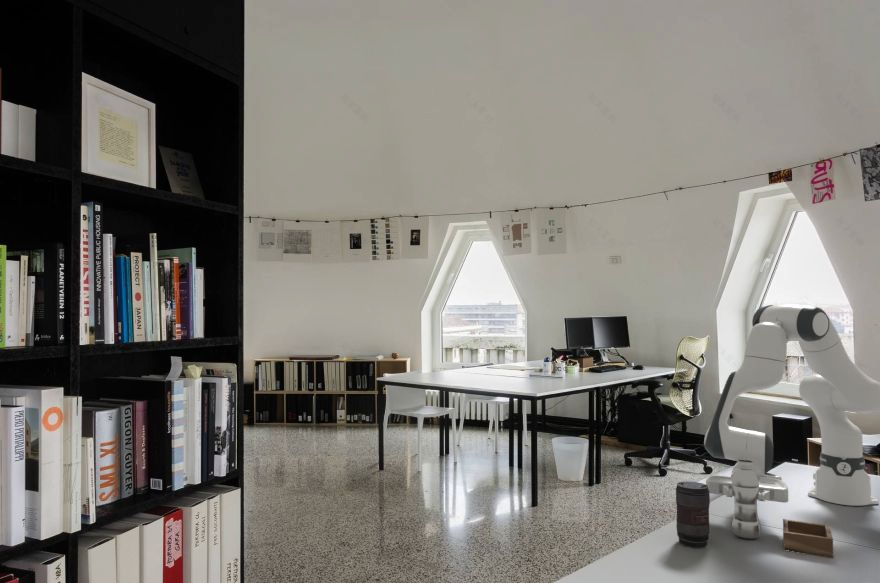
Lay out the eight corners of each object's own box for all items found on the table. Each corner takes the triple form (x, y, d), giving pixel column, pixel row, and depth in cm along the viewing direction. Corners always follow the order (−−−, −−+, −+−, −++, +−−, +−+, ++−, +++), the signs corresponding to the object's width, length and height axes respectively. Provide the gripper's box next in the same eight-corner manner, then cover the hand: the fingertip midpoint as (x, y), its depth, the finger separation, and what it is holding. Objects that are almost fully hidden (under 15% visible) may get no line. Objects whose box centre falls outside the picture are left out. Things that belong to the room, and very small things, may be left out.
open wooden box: (783, 535, 171) (783, 518, 171) (829, 542, 166) (829, 525, 166) (784, 550, 161) (783, 532, 161) (833, 558, 156) (832, 539, 156)
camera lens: (710, 540, 168) (710, 482, 168) (709, 551, 160) (709, 490, 160) (677, 535, 171) (677, 479, 171) (675, 546, 163) (674, 486, 164)
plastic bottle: (763, 542, 166) (762, 464, 166) (735, 540, 167) (734, 463, 168) (756, 534, 172) (755, 458, 173) (729, 532, 174) (728, 457, 174)
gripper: (707, 467, 186) (702, 479, 174) (787, 476, 177) (788, 489, 165) (707, 489, 186) (702, 502, 174) (787, 499, 177) (788, 513, 165)
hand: (745, 496), depth 169 cm, fingers closed on plastic bottle, 6 cm apart
